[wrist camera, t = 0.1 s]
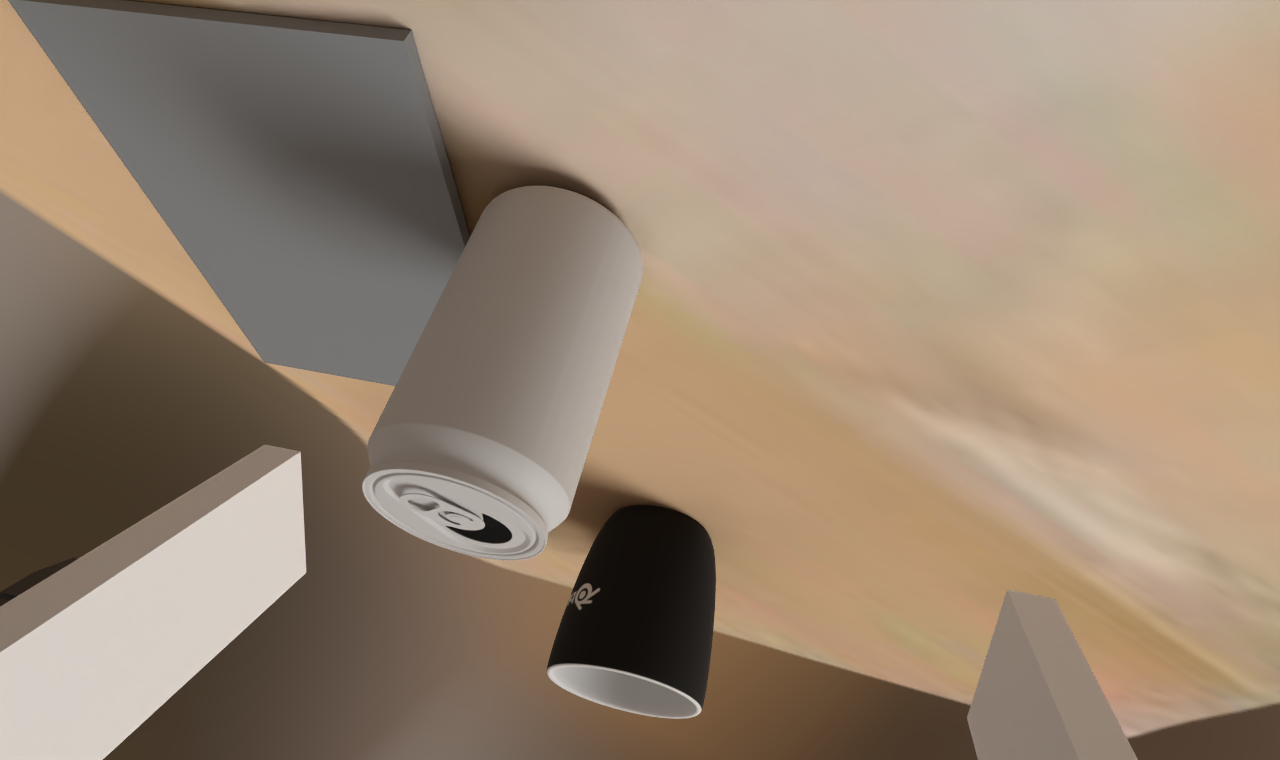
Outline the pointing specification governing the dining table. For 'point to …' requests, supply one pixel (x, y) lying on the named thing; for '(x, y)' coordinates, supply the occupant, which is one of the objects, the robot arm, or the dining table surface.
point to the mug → (641, 616)
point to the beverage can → (508, 377)
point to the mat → (278, 167)
